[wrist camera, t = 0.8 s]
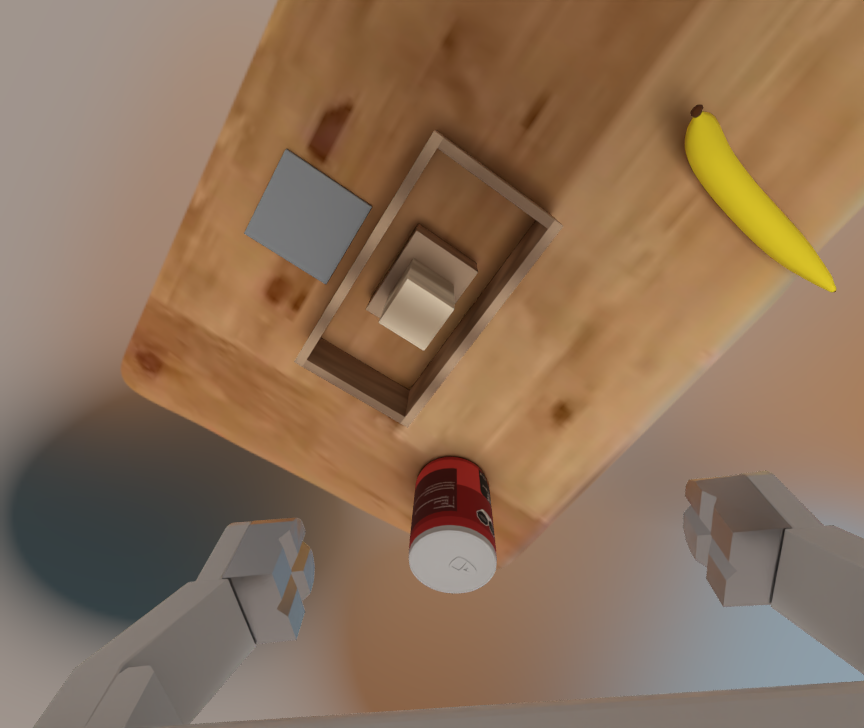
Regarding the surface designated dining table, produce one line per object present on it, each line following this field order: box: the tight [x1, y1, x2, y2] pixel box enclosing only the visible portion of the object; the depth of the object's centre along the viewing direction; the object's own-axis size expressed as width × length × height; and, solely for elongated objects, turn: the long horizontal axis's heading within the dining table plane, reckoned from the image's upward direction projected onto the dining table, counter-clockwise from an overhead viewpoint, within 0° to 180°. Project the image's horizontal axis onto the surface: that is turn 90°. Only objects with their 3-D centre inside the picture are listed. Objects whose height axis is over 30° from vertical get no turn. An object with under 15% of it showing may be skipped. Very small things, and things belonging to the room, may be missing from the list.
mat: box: [244, 149, 372, 284], centre depth 43 cm, size 8×8×1 cm
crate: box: [294, 130, 563, 427], centre depth 43 cm, size 22×12×5 cm, turn 146°
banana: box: [685, 105, 836, 292], centre depth 38 cm, size 3×19×6 cm, turn 48°
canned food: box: [409, 457, 497, 593], centre depth 49 cm, size 8×8×11 cm
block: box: [379, 258, 454, 351], centre depth 39 cm, size 4×4×6 cm
